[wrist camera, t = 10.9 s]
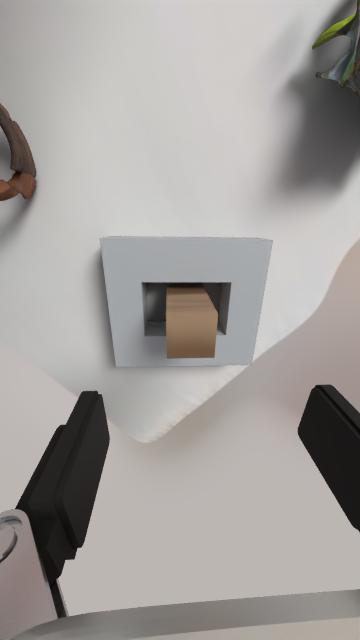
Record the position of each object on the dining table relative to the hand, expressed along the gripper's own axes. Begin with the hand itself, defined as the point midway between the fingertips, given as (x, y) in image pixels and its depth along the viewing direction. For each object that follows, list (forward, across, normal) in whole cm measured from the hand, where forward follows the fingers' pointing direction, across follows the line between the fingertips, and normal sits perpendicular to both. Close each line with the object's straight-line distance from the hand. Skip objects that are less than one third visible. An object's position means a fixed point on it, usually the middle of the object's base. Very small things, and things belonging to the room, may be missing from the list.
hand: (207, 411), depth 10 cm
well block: (+18, 0, +1) cm, 18 cm away
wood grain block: (+18, 0, +1) cm, 18 cm away
